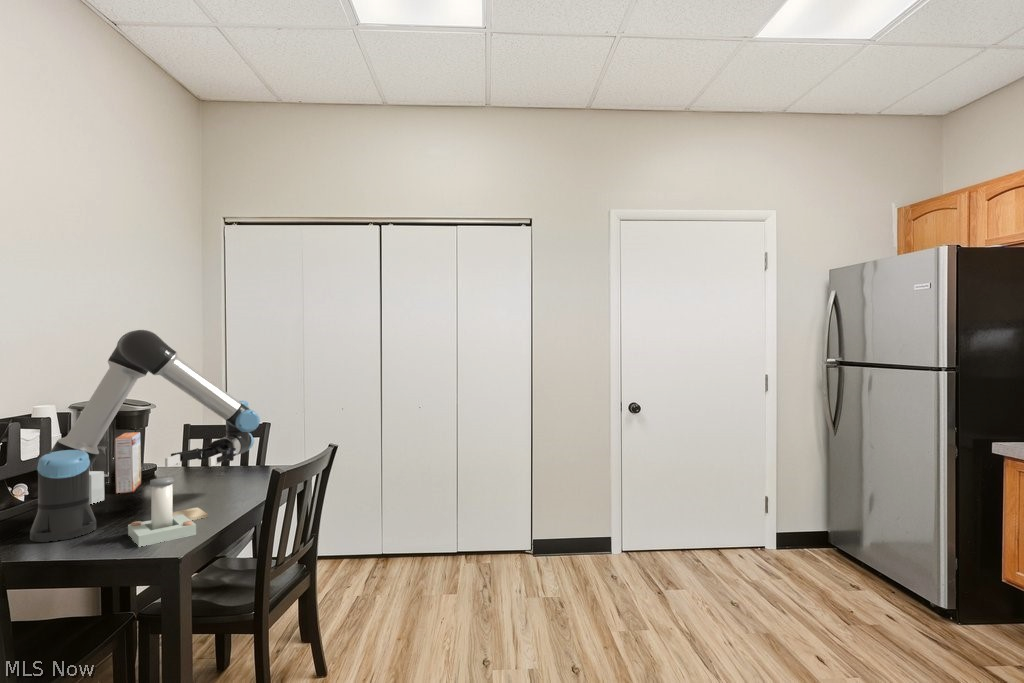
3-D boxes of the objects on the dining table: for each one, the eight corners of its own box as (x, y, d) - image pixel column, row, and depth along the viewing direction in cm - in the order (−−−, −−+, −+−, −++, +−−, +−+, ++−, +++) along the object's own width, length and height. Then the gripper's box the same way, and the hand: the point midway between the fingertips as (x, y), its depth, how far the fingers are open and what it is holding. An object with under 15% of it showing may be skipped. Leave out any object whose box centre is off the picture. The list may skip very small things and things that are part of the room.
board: (168, 525, 169) (168, 522, 169) (159, 517, 177) (159, 514, 177) (207, 517, 176) (207, 514, 176) (197, 510, 184) (197, 507, 184)
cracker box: (123, 485, 218) (123, 432, 218) (141, 484, 220) (141, 431, 221) (114, 494, 205) (114, 437, 205) (133, 492, 208) (133, 436, 208)
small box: (104, 500, 197) (104, 471, 197) (91, 505, 191) (91, 474, 191) (84, 500, 198) (84, 470, 198) (70, 504, 192) (70, 474, 192)
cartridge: (152, 539, 156) (152, 483, 156) (147, 535, 160) (147, 479, 160) (176, 534, 160) (176, 479, 160) (170, 530, 164) (170, 476, 164)
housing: (138, 547, 150) (138, 534, 150) (128, 535, 160) (128, 522, 160) (196, 534, 160) (196, 522, 160) (182, 523, 170) (182, 512, 170)
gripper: (259, 459, 193) (228, 473, 172) (188, 460, 193) (148, 475, 172) (259, 437, 193) (227, 449, 172) (188, 438, 193) (147, 451, 172)
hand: (187, 462), depth 172 cm, fingers open, 13 cm apart
